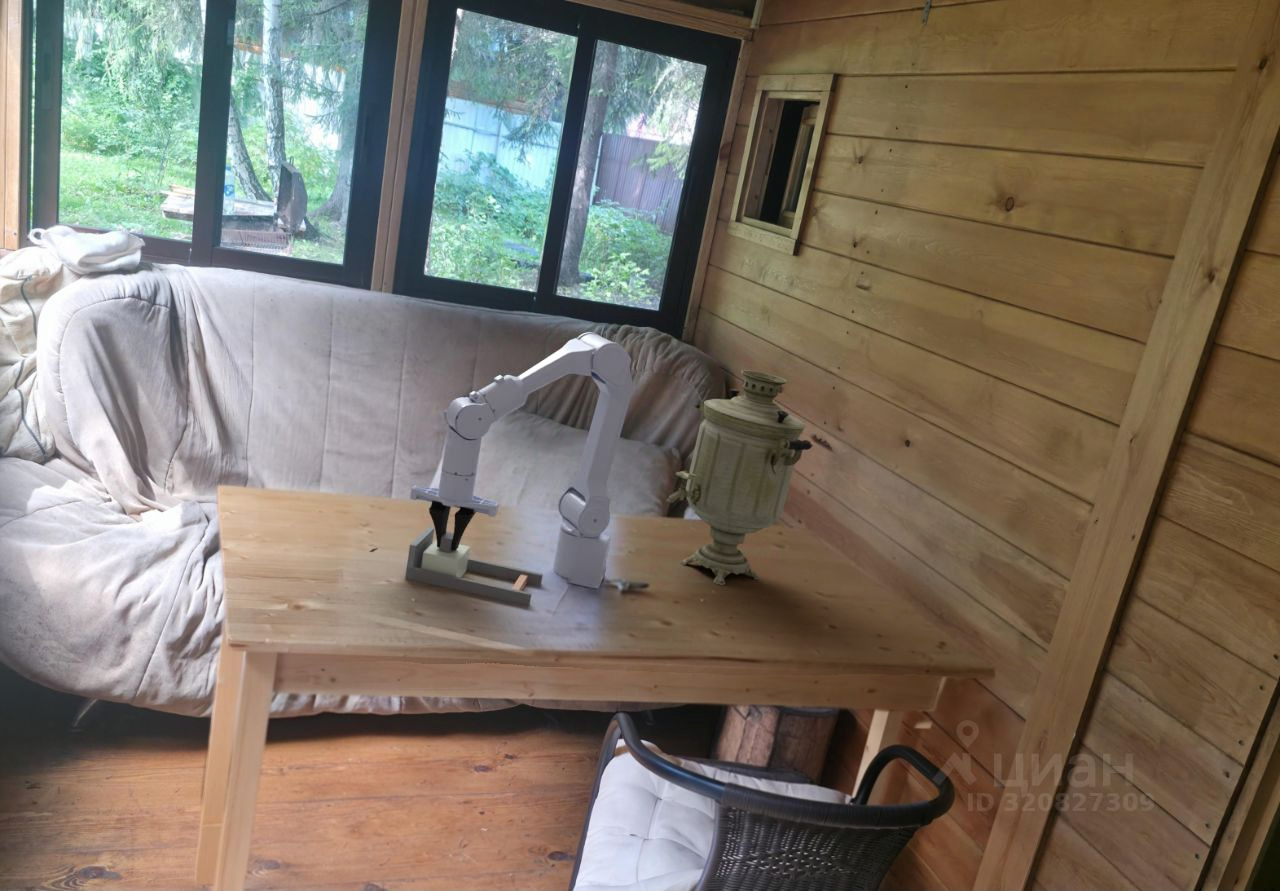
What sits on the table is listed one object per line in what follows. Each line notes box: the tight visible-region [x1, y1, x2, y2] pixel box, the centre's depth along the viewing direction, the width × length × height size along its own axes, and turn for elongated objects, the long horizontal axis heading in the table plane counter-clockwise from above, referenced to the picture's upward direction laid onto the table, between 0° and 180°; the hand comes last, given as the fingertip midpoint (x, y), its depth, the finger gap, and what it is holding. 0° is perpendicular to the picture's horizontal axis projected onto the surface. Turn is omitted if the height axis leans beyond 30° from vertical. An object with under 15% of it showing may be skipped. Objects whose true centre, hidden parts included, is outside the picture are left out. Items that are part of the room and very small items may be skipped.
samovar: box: [666, 369, 814, 585], centre depth 195 cm, size 30×26×40 cm
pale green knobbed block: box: [421, 531, 471, 578], centre depth 170 cm, size 6×7×7 cm
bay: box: [404, 526, 544, 607], centre depth 169 cm, size 21×12×7 cm, turn 83°
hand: (447, 547), depth 169 cm, fingers closed on pale green knobbed block, 2 cm apart
